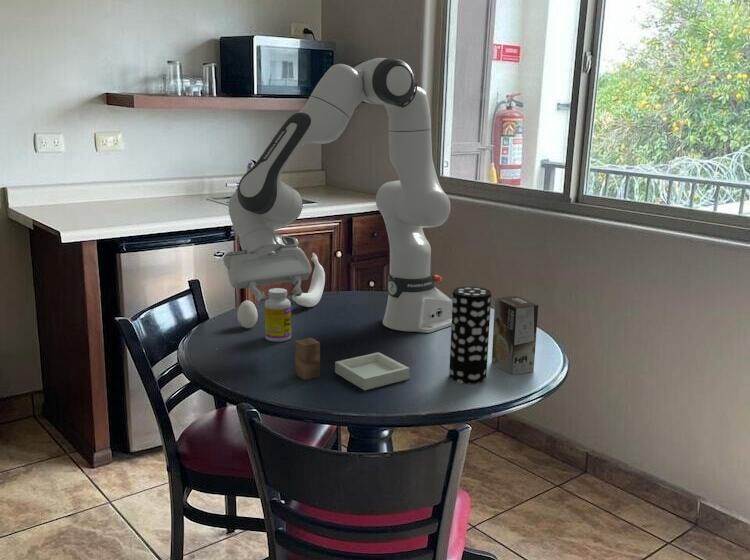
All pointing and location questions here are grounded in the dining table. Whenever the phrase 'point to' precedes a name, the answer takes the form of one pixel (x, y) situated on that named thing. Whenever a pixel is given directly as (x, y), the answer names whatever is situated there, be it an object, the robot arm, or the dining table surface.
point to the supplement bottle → (277, 316)
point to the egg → (247, 314)
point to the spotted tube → (469, 334)
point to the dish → (372, 370)
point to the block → (307, 358)
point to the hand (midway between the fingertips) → (280, 297)
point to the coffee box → (514, 334)
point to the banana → (313, 286)
